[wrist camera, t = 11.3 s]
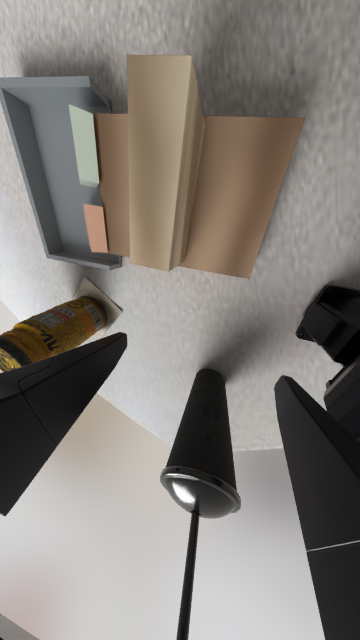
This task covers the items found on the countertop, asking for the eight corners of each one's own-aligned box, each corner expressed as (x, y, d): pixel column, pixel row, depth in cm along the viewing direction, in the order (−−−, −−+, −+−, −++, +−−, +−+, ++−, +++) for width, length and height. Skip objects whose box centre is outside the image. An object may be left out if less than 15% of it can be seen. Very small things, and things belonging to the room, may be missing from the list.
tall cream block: (205, 125, 11) (192, 55, 7) (184, 261, 15) (168, 271, 11) (159, 122, 11) (118, 54, 7) (152, 254, 16) (125, 262, 12)
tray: (110, 100, 14) (88, 75, 11) (121, 266, 21) (109, 270, 18) (26, 100, 15) (-7, 77, 13) (64, 255, 22) (46, 257, 20)
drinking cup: (232, 398, 27) (243, 674, 10) (189, 391, 29) (137, 611, 12) (235, 365, 24) (262, 703, 7) (186, 359, 26) (108, 609, 9)
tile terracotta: (102, 206, 15) (84, 203, 14) (107, 252, 17) (91, 252, 16) (98, 207, 18) (82, 205, 17) (103, 246, 20) (89, 246, 19)
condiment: (67, 309, 27) (-28, 355, 17) (85, 276, 23) (-27, 310, 13) (100, 338, 28) (31, 396, 18) (123, 311, 24) (49, 367, 14)
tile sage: (92, 113, 12) (68, 103, 11) (99, 183, 14) (79, 178, 13) (91, 133, 15) (72, 126, 14) (96, 188, 17) (80, 184, 16)
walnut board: (288, 142, 12) (304, 118, 10) (245, 272, 17) (249, 278, 15) (115, 134, 14) (92, 113, 12) (122, 250, 20) (107, 253, 17)
